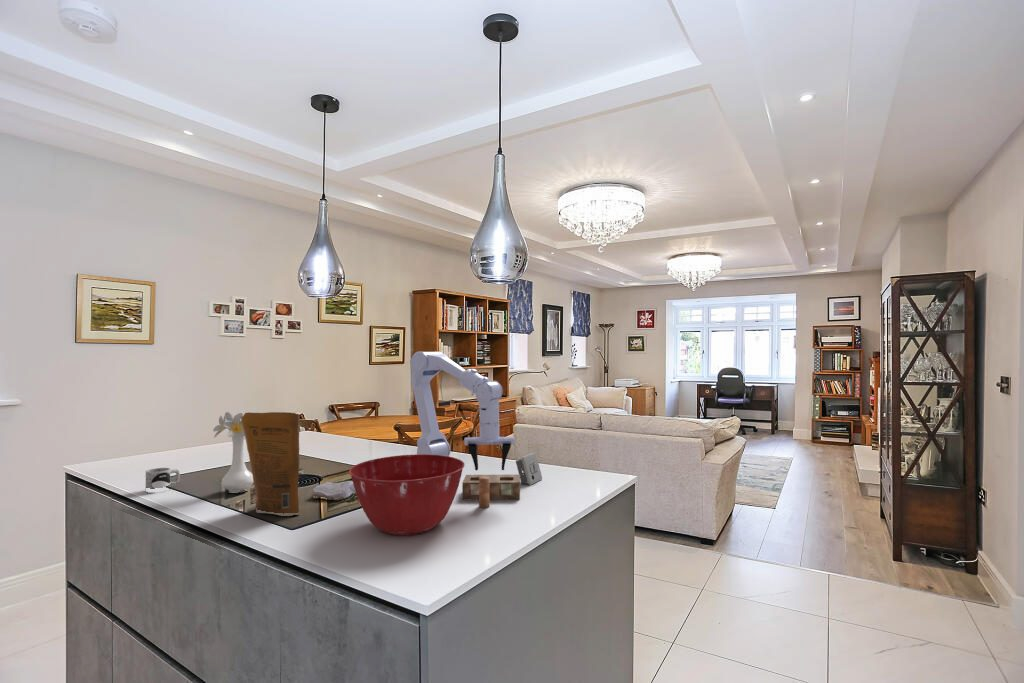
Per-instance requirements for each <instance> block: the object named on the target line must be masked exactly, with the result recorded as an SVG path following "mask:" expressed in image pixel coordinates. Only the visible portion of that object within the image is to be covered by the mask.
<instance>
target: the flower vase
mask: <svg viewBox="0 0 1024 683" xmlns="http://www.w3.org/2000/svg"><path fill="white" fill-rule="evenodd" d="M243 415H244V414H243V413H242V412H240V413H237V414H235V415H234V416H233V415H232V414H231V413H230V412H229V411H226V412H225V413H224V416H222V415H220V416H219V417H218V425H216V426H215V427H214V428H213V430H212V431H213V433H214V432H216V433H215V435H214V436H213V437H214V438H216V437H217V436H218V435H219V434H221V433H222V432H224V430H226V429H228V432H227V437H228V438H231V442H232V457H231V458H232V460H231V465H230V468H229V470H228V472H227V473H226V474H225V475H224V476H223V477H222V479H221V486H222V488H224V489H225V490H226V491H227V490H229V491H240V490H245V489H247V488H249V489H250V487H251V486H252V485H254V482H253V474H252V471H250V470H249V469H248V468H247V465H246V463H245V456H244V441H245V434H244V430H243V427H242V423H241V416H243Z"/></svg>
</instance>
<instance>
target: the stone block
mask: <svg viewBox="0 0 1024 683" xmlns="http://www.w3.org/2000/svg"><path fill="white" fill-rule="evenodd" d="M354 492H356V491H355V488H354V485H353V481H352V480H347V481H342V482H334V483H333V482H331V481H325V482H324V483H321V484H318V485H317V486H315V487H314V488H313V489H312V493H311V496H312V497H313V496H315V497H316V496H317V497H325V498H346V497H348V496H350V495H351V494H352V493H354Z"/></svg>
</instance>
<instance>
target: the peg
mask: <svg viewBox="0 0 1024 683" xmlns="http://www.w3.org/2000/svg"><path fill="white" fill-rule="evenodd" d="M490 500H491V499H490V494H489V477H480V478H479V500H478V507H479V508H480V509H488V508H491V507H490V506H491V505H490V502H491V501H490Z"/></svg>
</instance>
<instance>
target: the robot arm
mask: <svg viewBox="0 0 1024 683" xmlns="http://www.w3.org/2000/svg"><path fill="white" fill-rule="evenodd" d="M409 365H410V369H411V385H412V389H413V390H412V391H413V394H414V401H415V406H416V410H417V414H418V415H417V416H418V421H419V425H420V430H421V435H420V437H419V438H418V439H417V441H416V445H417V449H416V454H428V455H442V456H449V457H450V454H451V445H450V444H449V442H448V440H447V437H446V435H445V434H444V433H443V432H441V431H440V429H439V422H438V417H437V414H436V407H435V403H434V399H433V398H434V397H433V392H432V388H431V383H430V382H431V381H432V380H433V378H434V377H435V376H437V375H438V373H440V372H441V371H443V372H445V373H446V374H448V375H451V376H452V377H454V378H456V379H458V380H459V385H460V386H461V387H463V388H464V389H466V390H468V391H470V392H471V393H472V394H473V395H475V398H476V400H477V401H478V408H479V409H478V410H479V436H473V437H464V442H463V443H464V446H467V449H468V451H469V453H470V454H469V455H470V456H471V458H472V461H473V464H474V471H478V470H479V459H478V458H479V456H478V453H479V452H478V451H479V450H478V446H481V445H482V446H485V445H486V446H490V445H491V446H493V445H501V471H505V465H506V461H507V457H508V455H509V451H511V446H514V445H515V436H510V437H509V436H500V399H501V398H502V397H503V396H502V395H504V394H503V393H504V390H503V386H502V385H501V383H499V381H498V380H491V381H490V380H489V377H487V376H483V375H482V374H479V373H478V370H477V369H475V368H468V369H464V367H462V366H460V365H459V364H457V363H456V362H455V361H453V359H451V358H449V357H448V356H447V354H445V353H443V352H442V351H439V350H438V351H421V350H420V351H416V352H415V353H414V354H413V355H412V357H411V359H410V360H409Z"/></svg>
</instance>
